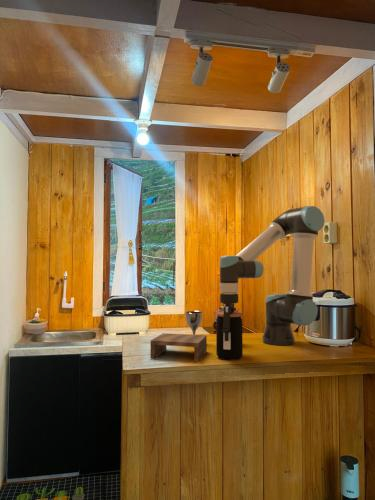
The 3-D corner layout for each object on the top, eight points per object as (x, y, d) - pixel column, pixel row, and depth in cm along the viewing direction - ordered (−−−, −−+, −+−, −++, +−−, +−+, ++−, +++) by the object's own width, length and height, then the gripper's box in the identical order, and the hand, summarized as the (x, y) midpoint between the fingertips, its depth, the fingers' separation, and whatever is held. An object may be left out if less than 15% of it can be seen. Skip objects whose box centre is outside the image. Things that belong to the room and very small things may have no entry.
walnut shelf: (206, 351, 161) (206, 335, 162) (198, 361, 146) (198, 343, 146) (162, 348, 166) (162, 333, 167) (150, 357, 151) (150, 340, 151)
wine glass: (202, 342, 181) (202, 311, 181) (201, 345, 173) (201, 313, 173) (186, 341, 182) (186, 310, 182) (184, 345, 174) (184, 313, 174)
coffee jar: (244, 355, 155) (244, 311, 156) (239, 361, 145) (239, 315, 146) (220, 353, 159) (219, 310, 159) (213, 359, 149) (213, 314, 149)
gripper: (224, 290, 166) (224, 339, 165) (214, 295, 142) (214, 352, 141) (241, 291, 164) (241, 339, 163) (234, 295, 140) (234, 353, 139)
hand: (229, 345), depth 152 cm, fingers open, 12 cm apart
